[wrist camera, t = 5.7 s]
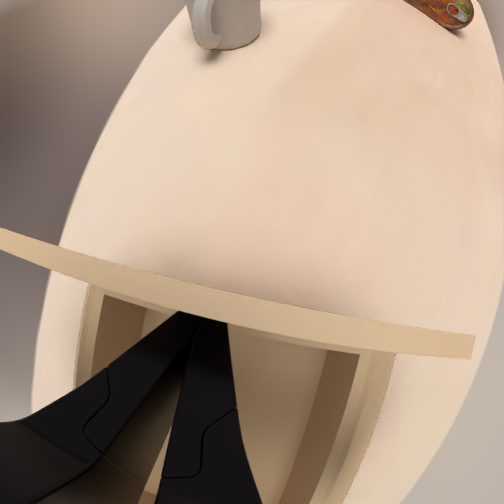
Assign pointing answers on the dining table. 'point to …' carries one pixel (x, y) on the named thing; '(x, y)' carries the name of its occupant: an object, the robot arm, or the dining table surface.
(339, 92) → the dining table surface
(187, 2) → the cup
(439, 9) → the tin
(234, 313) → the flap
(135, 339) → the carton
